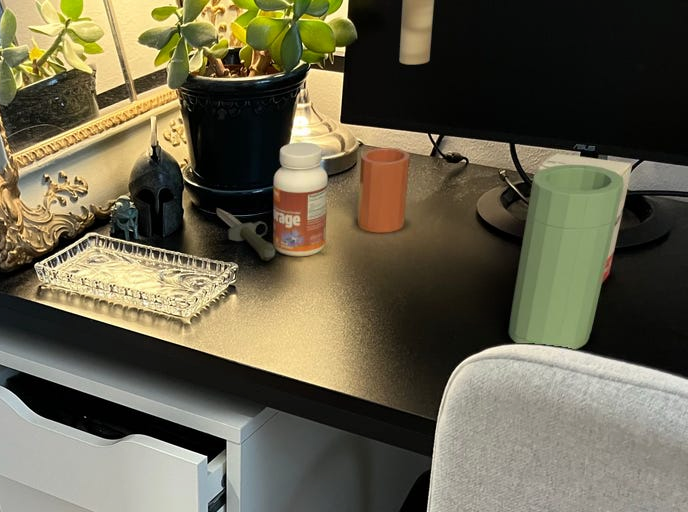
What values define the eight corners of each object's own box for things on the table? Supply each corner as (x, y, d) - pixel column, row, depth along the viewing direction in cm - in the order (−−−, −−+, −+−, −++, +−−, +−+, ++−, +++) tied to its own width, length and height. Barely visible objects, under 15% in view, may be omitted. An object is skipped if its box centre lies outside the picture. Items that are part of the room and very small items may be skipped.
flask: (587, 319, 103) (621, 165, 93) (589, 355, 97) (626, 196, 87) (509, 314, 105) (534, 163, 94) (507, 349, 99) (533, 192, 89)
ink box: (611, 274, 110) (637, 161, 102) (596, 291, 108) (621, 176, 100) (535, 259, 114) (554, 149, 106) (518, 275, 111) (537, 163, 103)
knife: (201, 202, 128) (238, 196, 129) (202, 218, 130) (238, 212, 131) (253, 248, 115) (294, 241, 116) (254, 266, 116) (294, 259, 117)
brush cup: (406, 216, 126) (411, 148, 120) (401, 233, 122) (406, 164, 116) (361, 214, 127) (364, 147, 121) (355, 231, 123) (358, 163, 117)
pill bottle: (262, 247, 120) (261, 149, 113) (300, 233, 123) (302, 136, 115) (297, 262, 116) (298, 162, 109) (336, 247, 119) (339, 148, 111)
